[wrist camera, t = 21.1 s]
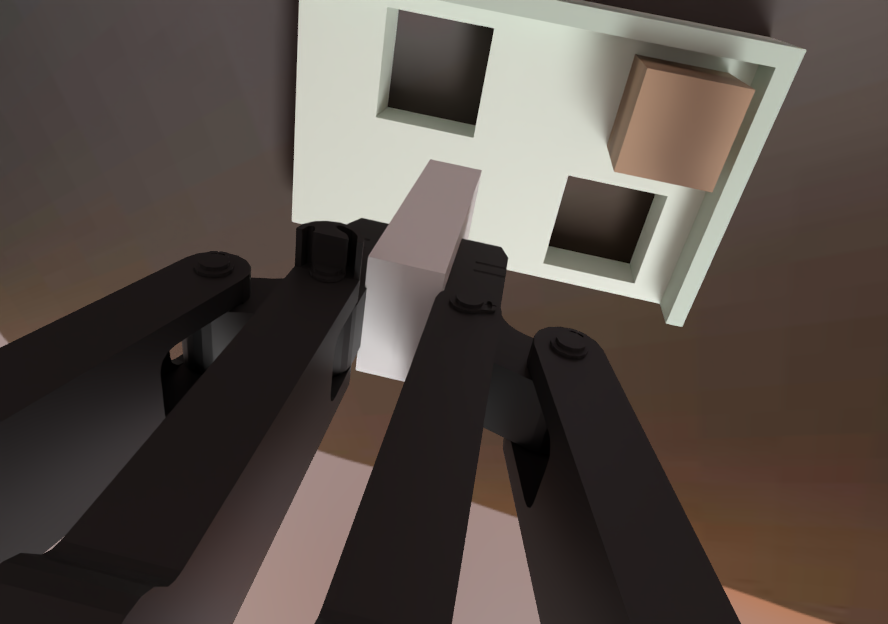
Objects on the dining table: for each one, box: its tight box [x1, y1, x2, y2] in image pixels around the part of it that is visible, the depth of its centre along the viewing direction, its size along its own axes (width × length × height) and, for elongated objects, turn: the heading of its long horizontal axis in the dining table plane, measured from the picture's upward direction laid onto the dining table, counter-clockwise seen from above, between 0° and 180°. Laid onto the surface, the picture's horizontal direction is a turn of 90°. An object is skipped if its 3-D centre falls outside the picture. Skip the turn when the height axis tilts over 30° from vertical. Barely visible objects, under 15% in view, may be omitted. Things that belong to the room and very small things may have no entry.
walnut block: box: [607, 54, 755, 192], centre depth 31 cm, size 5×5×5 cm
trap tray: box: [292, 0, 806, 327], centre depth 36 cm, size 26×16×6 cm, turn 81°
